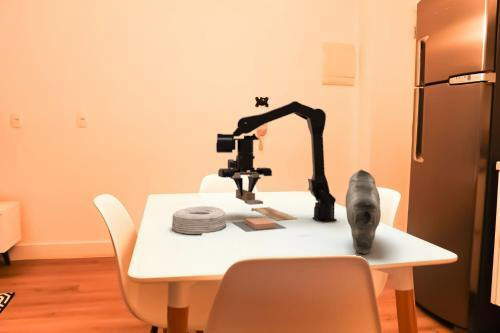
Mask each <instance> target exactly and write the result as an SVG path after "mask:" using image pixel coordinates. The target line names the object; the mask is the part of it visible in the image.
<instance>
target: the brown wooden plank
mask: <svg viewBox="0 0 500 333" xmlns="http://www.w3.org/2000/svg"><path fill="white" fill-rule="evenodd" d="M235 199H238V200H241V201H243V202H244V204H247V205H249V206H252V205H263V204H264V201H262V200H260V199H256V193H255V192H253V191H252V192H249V191H248V190H247V189H244V188H243V194H242V197H240V194H239V191H238V189H235Z"/></svg>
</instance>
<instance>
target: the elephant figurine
mask: <svg viewBox="0 0 500 333" xmlns="http://www.w3.org/2000/svg"><path fill="white" fill-rule="evenodd" d="M345 211H346V219H347V222H348V224H349V227H350V229H351V230H350V231H351V238H352V247H353V250H355V252H357V253H358V254H361V253H362V254H363V255H366V254H369V253H371V251H372V249H373V247H374V246H373V245H374V241H375V236H376V231H377V228H378V226H379V224H380V223H381V198H380V193H379V191H378V188H377V185H376V180H375V178H374V176H373V174H371V173H370V172H368V171H366V170H363V169H362V168H361V169H359V170H357V171H356V172H354V173H353V174H352V175H351V176H350V178H349V182H348V188H347V191H346V194H345Z"/></svg>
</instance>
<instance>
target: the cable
mask: <svg viewBox="0 0 500 333" xmlns="http://www.w3.org/2000/svg"><path fill="white" fill-rule="evenodd" d="M226 225H227V219H226V214H225V211H224V210H223V209H222V208H220V207H215V206H207V205H204V206H203V205H200V206H191V207H185V208H180V209H179V210H176V211H175V212H173V213H172V220H171V228H172V229H173V230H174V231H175V232H177V233H181V234H189V235H202V234H207V233H213V232H217V231H221V230H222V229H224V228H225V227H226Z"/></svg>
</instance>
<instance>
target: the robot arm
mask: <svg viewBox="0 0 500 333" xmlns="http://www.w3.org/2000/svg"><path fill="white" fill-rule="evenodd" d="M291 114H294V115H296V116H298V117H299V118H301V119H304V120H305V121H306V123H307V128H308V131H309V134H310V139H311V140H310V141H311V142H310V143H311V145H310V146H311V161H312V162H311V164H312V176H311V178H308V179H307V182H308V189H307V190H308V191H310V194H311V196H313V197H314V199H315V201H316V202H315V204H314V207H313V216H312V220H313V219H314V220H316V221H318V222H320V223H321V222H323V223H324V222H335V221H337V220H338V219H337V218H335V203H336V201H337V199H336V197H334V196H333V195H332V193H331V192H330V188H329V182H328V180H327V177H326V173H325V154H324V153H325V152H324V131H325V127H326V120H327V114H326V112H325V111H324V110H323V109H322V108H318V107H317V108H314V107H311V106H309V105H306V104H303V103H300V101H297V100H294V101H291V102H289V103H287V104H285V105H282V106H278V107H277V108H274V109H271V110H268V111H266V112H263V113H259V114H255V115H249V116H244V117H241V118H240V119H238V122H237V127H236V129H235V130H234V131H233V132H232V133H228V134H227V133H226V134H225V133H217V134H216V143H215V148H216V149H215V150H216V153H219V154H221V153H222V154H225V153H226V154H228V153H229V154H232V153H233V151H235V150H236V148H237V151H236V152H237V155H236V158H235V160H234V159H233V158H231V159H227V167H226V168H222V167H221V168H219V169H218V171H217V172H218V173H217V175H218V177H219V178H229V179H231V180H233V182H234V183H235V185H236V187H237V190H238V191H239V194H240V197H242V194H243V189H244V185H243V184H244V183H243V179H244V178H243V177H241V176H247V180H248V186H247V187H248V188H247V191H249V192H252V193H253V191H254V189H255V186H256V184H257V183H258V180H261V179H262V177H261V175H262V176H263V177H272V176H273V171H272V169H271V168H270V167H257V168H255V167H254V160H255V155H254V141H258V140H259V139H260V138H259V137H258V136H257V135H256V133H252V135H249V134H250V133H251V132H253V131H255V130H256V129H259V128H260V127H262V126H264V125H265V124H269V123H271V122H273V121H276V120H279V119H282V118H284V117H287V116H289V115H291ZM243 134H244V135H243ZM242 135H243V138H237V137H240V136H242ZM235 137H236V138H235ZM236 141H237V142H236ZM236 143H237V147H236Z"/></svg>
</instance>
